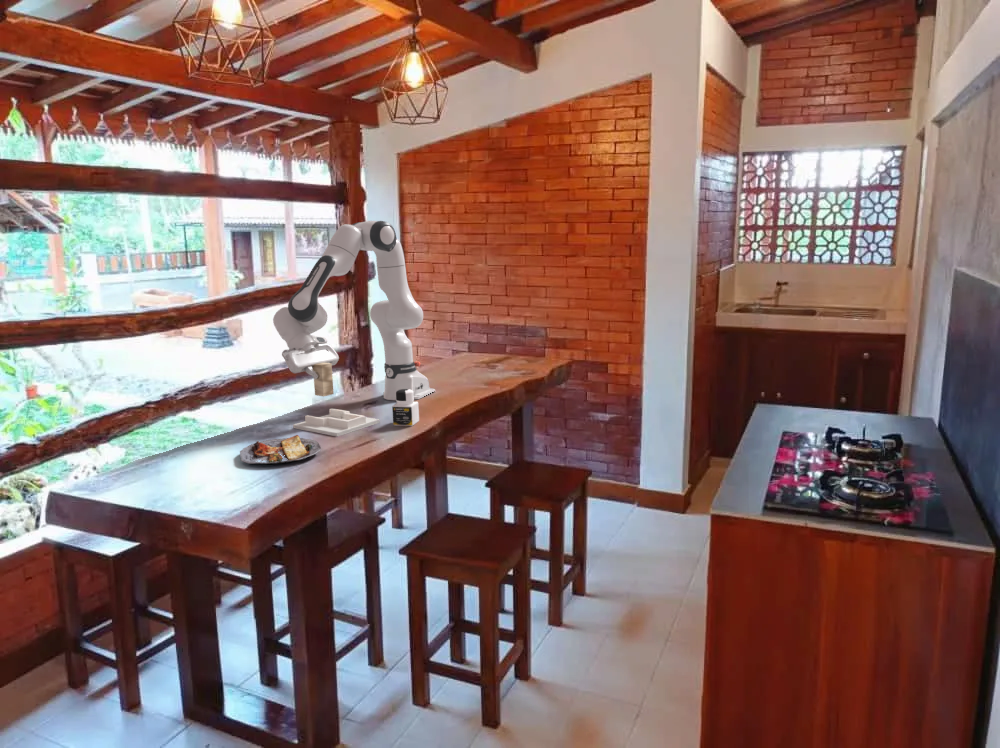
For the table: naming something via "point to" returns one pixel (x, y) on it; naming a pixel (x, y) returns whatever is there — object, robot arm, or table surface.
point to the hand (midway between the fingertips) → (324, 376)
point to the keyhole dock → (336, 423)
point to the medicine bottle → (405, 409)
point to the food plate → (279, 450)
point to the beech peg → (323, 379)
